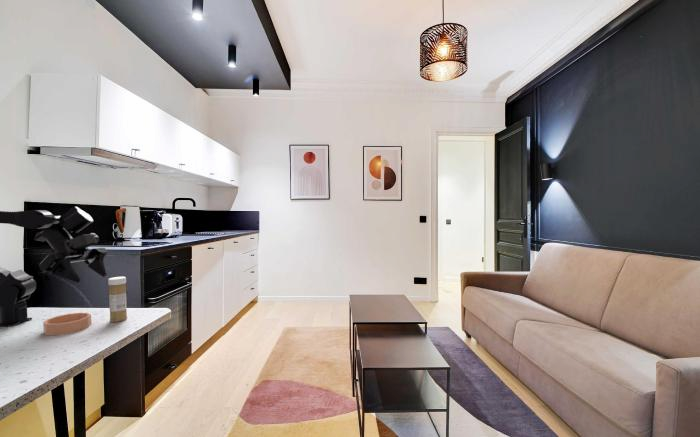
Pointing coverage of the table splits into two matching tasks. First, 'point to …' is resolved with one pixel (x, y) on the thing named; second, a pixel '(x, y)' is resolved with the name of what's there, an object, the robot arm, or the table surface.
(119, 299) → the sprinkles bottle
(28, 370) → the table surface
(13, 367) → the table surface
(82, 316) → the terracotta bowl
